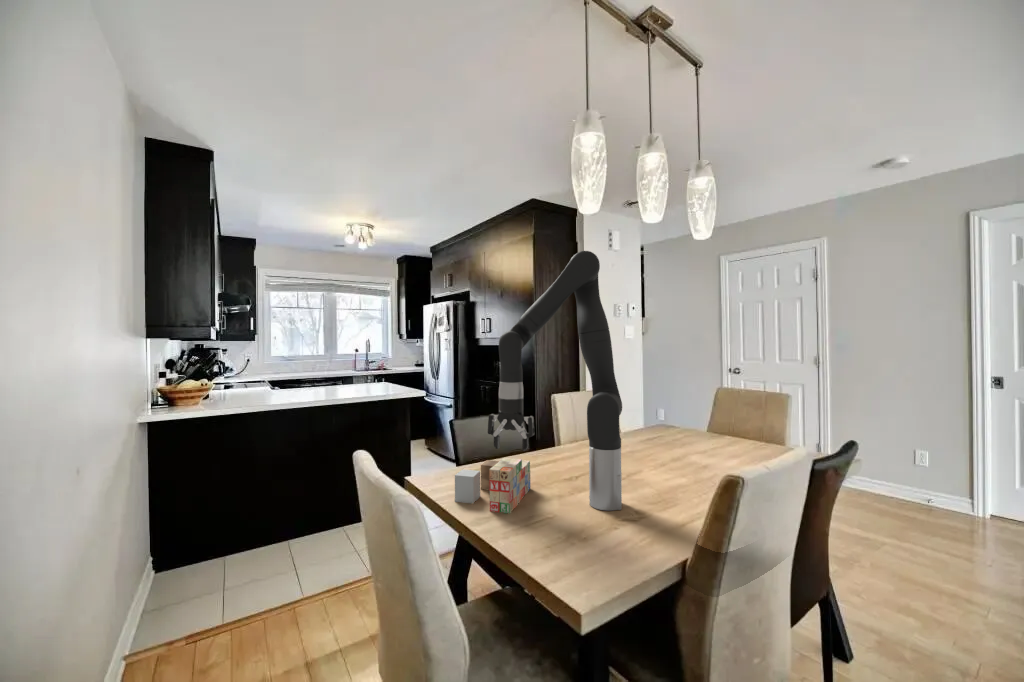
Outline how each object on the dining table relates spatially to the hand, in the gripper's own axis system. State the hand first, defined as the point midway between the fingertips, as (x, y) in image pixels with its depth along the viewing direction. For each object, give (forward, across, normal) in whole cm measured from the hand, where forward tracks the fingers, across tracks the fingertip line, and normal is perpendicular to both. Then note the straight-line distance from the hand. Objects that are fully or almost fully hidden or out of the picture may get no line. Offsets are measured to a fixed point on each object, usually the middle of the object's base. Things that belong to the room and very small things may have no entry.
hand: (510, 449), depth 128 cm
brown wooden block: (+15, +9, -9) cm, 20 cm away
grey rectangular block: (+15, +13, +3) cm, 20 cm away
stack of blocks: (+16, 0, 0) cm, 16 cm away
